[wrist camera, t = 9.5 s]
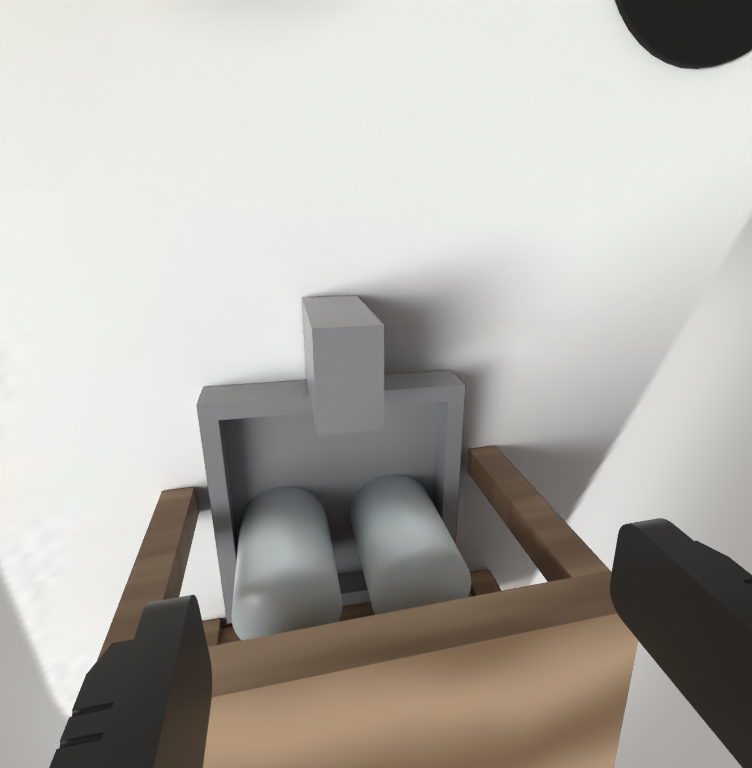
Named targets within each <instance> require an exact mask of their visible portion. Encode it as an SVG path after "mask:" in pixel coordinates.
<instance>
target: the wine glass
mask: <svg viewBox="0 0 752 768" xmlns="http://www.w3.org/2000/svg"><path fill="white" fill-rule="evenodd" d="M615 1H616V4H617V7H618V10H619V12H620V14H621V16H622V18H623V20H624V22H625V23H626V25H627V27H628V29H629V31H630V32H631V33H632V34H633V36H634V37H635V38H636V39H637V41H638V42H639V43H640V44H641V45H642V46H643V47H644V48H645V49H646V50H648V51H649V52H650V53H651V54H652V55H654V56H655V57H657V58H659V59H661V60H662V61H664V62H666V63H669V64H672V65H675V66H678V67H681V68H695V69H698V68H706V67H713V66H716V65H719V64H722V63H725V62H728V61H731V60H734V59H736V58H738V57H740V56H742V55H743V54H745V53H747V52H749V51H750V50H752V0H615Z"/></svg>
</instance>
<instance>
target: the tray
mask: <svg viewBox="0 0 752 768" xmlns="http://www.w3.org/2000/svg"><path fill="white" fill-rule="evenodd" d="M302 311H303V329H304V347H305V365H306V380H293V381H279V382H264V383H250V384H235V385H221V386H206V387H203V388H202V391H201V394H200V397H199V399H198V402H197V412H198V419H199V426H200V433H201V441H202V448H203V455H204V462H205V469H206V476H207V483H208V490H209V498H210V505H211V512H212V519H213V526H214V533H215V540H216V547H217V555H218V562H219V569H220V576H221V583H222V590H223V597H224V604H225V612H226V619H227V624H228V623H232V625H233V628H234V630H235V632H236V634H237V636H238V637H239V638H240V639H241V640H246V639H252V638H257V637H262V636H267V635H273V634H278V633H283V632H288V631H294V630H299V629H304V628H309V627H315V626H320V625H325V624H330V623H336V622H338V621H339V619H340V616H341V613H342V606H344V605H351V604H357V603H364V602H370V601H371V605H372V608H373V611H374V613H375V615H378V614H383V613H388V612H393V611H399V610H404V609H409V608H414V607H420V606H425V605H430V604H435V603H441V602H446V601H451V600H456V599H462V598H467V597H468V595H469V592H470V589H471V575H470V571H469V569H468V567H467V565H466V563H465V561H464V559H463V558H462V556H461V554H460V552H459V550H458V548H457V546H456V545H455V543H456V527H457V511H458V495H459V479H460V463H461V447H462V431H463V415H464V398H465V384H464V383H463V382H462V381H461V380H460V379H459V378H458V377H457V376H456V375H455V374H454V373H453V372H451V371H450V370H438V371H424V372H409V373H395V374H384V324H383V323H382V322H381V321H380V320H379V319H378V318H377V317H376V315H375V314H374V313H373V312H372V311H371V310H370V309H369V308H368V307H367V306H366V305H365V304H364V303H363V302H362V301H361V299H360V298H359V297H358V296H357V295H352V296H326V297H302Z"/></svg>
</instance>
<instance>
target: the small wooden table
mask: <svg viewBox="0 0 752 768" xmlns="http://www.w3.org/2000/svg"><path fill="white" fill-rule="evenodd" d="M468 473H469V475H470V476H471V477H472V479H473V480H474V481H475V483H476V484H477V486H478V487H479V488H480V490H481V491H482V492H483V494H484V495H485V497H486V498H487V499H488V501H489V502H490V503H491V505H492V506H493V507H494V509H495V510H496V512H497V513H498V514H499V516H500V517H501V518H502V520H503V521H504V523H505V524H506V525H507V527H508V528H509V529H510V531H511V532H512V534H513V535H514V536H515V538H516V539H517V540H518V542H519V543H520V544H521V546H522V547H523V549H524V550H525V551H526V553H527V554H528V555H529V557H530V558H531V560H532V561H533V562H534V564H535V565H536V566H537V568H538V569H539V570H540V572H541V573H542V574H543V576H544V577H545V579H546V580H547V581H548V582H546V583H541V584H535V585H530V586H525V587H520V588H514V589H509V590H504V591H501V589H500V587H499V586H498V584H497V582H496V581H495V579H494V577H493V575H492V574H491V572H490V570H484V571H478V572H473V573H470V575H471V589H470V592H469V595H468V597H467V598H462V599H456V600H451V601H446V602H441V603H435V604H430V605H425V606H420V607H414V608H409V609H404V610H399V611H393V612H388V613H383V614H378V615H375V613H374V611H373V608H372V605H371V601H370V602H364V603H357V604H351V605H344V606H342V613H341V616H340V619H339V621H338V622H336V623H330V624H325V625H320V626H315V627H309V628H304V629H299V630H294V631H288V632H283V633H278V634H273V635H267V636H262V637H257V638H252V639H246V640H241V639H240V638H239V637H238V636H237V634H236V632H235V630H234V628H233V626H230V627H225V628H222V625H221V620H220V619H214V620H209V621H203V622H202V623H203V627H204V632H205V636H206V641H207V645H208V650H209V654H210V659H211V667H212V699H211V708H210V716H209V724H208V731H207V739H206V747H205V755H204V763H203V768H614V764H615V759H616V753H617V748H618V743H619V738H620V732H621V727H622V722H623V717H624V712H625V707H626V701H627V696H628V691H629V686H630V680H631V676H632V670H633V665H634V660H635V654H636V650H637V644H638V639H637V638H636V637H635V636H634V635H633V633H632V632H631V631H630V630H629V628H628V627H627V626H626V625H625V624H624V622H623V621H622V620H621V618H620V617H619V615H618V614H617V612H616V610H615V608H614V605H613V603H612V599H611V595H610V580H611V574H612V572H611V571H610V570H609V569H608V568H607V567H606V566H605V564H604V563H603V562H602V561H601V560H600V559H599V558H598V557H597V556H596V555H595V554H594V553H593V551H592V550H591V549H590V548H589V547H588V546H587V545H586V544H585V543H584V542H583V541H582V539H581V538H580V537H579V536H578V535H577V534H576V533H575V532H574V531H573V530H572V529H571V528H570V527H569V525H568V524H567V523H566V522H565V521H564V520H563V519H562V518H561V517H560V516H559V515H558V513H557V512H556V511H555V510H554V509H553V508H552V507H551V506H550V505H549V504H548V503H547V502H546V500H545V499H544V498H543V497H542V496H541V495H540V494H539V493H538V492H537V491H536V490H535V489H534V487H533V486H532V485H531V484H530V483H529V482H528V481H527V480H526V479H525V478H524V477H523V476H522V474H521V473H520V472H519V471H518V470H517V469H516V468H515V467H514V466H513V465H512V464H511V463H510V461H509V460H508V459H507V458H506V457H505V456H504V455H503V454H502V453H501V452H500V451H499V450H498V448H497V447H496V446H488V447H481V448H474V449H469V470H468ZM198 514H199V510H198V505H197V500H196V495H195V490H194V487H189V488H182V489H175V490H167V491H162V492H161V495H160V498H159V500H158V503H157V506H156V508H155V511H154V513H153V516H152V519H151V521H150V524H149V526H148V529H147V532H146V534H145V537H144V540H143V542H142V545H141V547H140V550H139V553H138V555H137V558H136V560H135V563H134V566H133V568H132V571H131V574H130V576H129V579H128V581H127V584H126V587H125V589H124V592H123V594H122V597H121V600H120V602H119V605H118V608H117V610H116V613H115V615H114V618H113V621H112V623H111V626H110V628H109V631H108V634H107V636H106V639H105V642H104V644H103V647H102V649H101V652H100V655H99V657H98V660H99V658H100V657H101V656H102V655H103V653H104V652H105V651H106V650H107V648H108V647H109V646H110V645H111V643H115V642H121V641H126V640H132V639H134V637H135V634H136V631H137V627H138V624H139V621H140V618H141V615H142V612H143V609H144V607H145V605H146V604H147V603H149V602H154V601H160V600H166V599H172V598H178V597H179V595H180V590H181V586H182V582H183V578H184V573H185V569H186V565H187V561H188V557H189V552H190V548H191V544H192V540H193V535H194V531H195V527H196V523H197V518H198ZM98 660H97V661H98Z"/></svg>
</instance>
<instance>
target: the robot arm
mask: <svg viewBox="0 0 752 768" xmlns="http://www.w3.org/2000/svg"><path fill="white" fill-rule="evenodd" d="M610 595H611V599H612V603H613V605H614V608H615V610H616V612H617V614H618V615H619V617H620V618H621V620H622V621H623V622H624V624H625V625H626V626H627V627H628V628H629V630H630V631H631V632H632V633H633V635H634V636H635V637H636V638H637V639H638V641H639V642H640V643H641V644H642V646H643V647H644V648H645V649H646V650H647V652H648V653H649V654H650V655H651V656H652V658H653V659H654V660H655V661H656V663H657V664H658V665H659V666H660V667H661V669H662V670H663V671H664V672H665V673H666V675H667V676H668V677H669V678H670V679H671V681H672V682H673V683H674V684H675V686H676V687H677V688H678V689H679V691H680V692H681V693H682V694H683V696H684V697H685V698H686V699H687V700H688V701H689V703H690V704H691V705H692V706H693V708H694V709H695V710H696V711H697V713H698V714H699V715H700V716H701V717H702V719H703V720H704V721H705V722H706V724H707V725H708V726H709V727H710V728H711V730H712V731H713V732H714V733H715V734H716V736H717V737H718V738H719V739H720V740H721V742H722V743H723V744H724V745H725V747H726V748H727V749H728V750H729V752H730V753H731V754H732V755H733V756H734V758H735V759H736V760H737V761H738V762H739V764H740V765H741V766H742V767H743V768H752V575H751V574H750V573H748V572H747V571H746V570H744V569H743V568H742V567H741V566H739V565H738V564H737V563H735V562H734V561H733V560H732V559H731V558H729V557H728V556H726V555H724V554H722V553H720V552H718V551H716V550H714V549H712V548H710V547H708V546H706V545H704V544H702V543H700V542H698V541H693V540H692V539H691V538H690V537H688V536H687V535H686V534H685V533H683V532H682V531H681V530H680V529H679V528H677V527H676V526H675V525H674V524H672V523H671V522H670V521H668V520H666V519H662V518H659V519H653V520H647V521H641V522H635V523H629V524H625V525H623V526H622V527H621V528H620V530H619V534H618V538H617V545H616V550H615V556H614V562H613V568H612V574H611V580H610ZM211 699H212V667H211V659H210V654H209V650H208V645H207V641H206V636H205V632H204V627H203V623H202V618H201V614H200V609H199V605H198V601H197V598H196V596H195V595H190V596H184V597H178V598H172V599H166V600H160V601H154V602H149V603H147V604H146V605H145V607H144V609H143V612H142V615H141V618H140V621H139V624H138V627H137V631H136V634H135V637H134V639H132V640H126V641H121V642H115V643H111V645H110V646H109V647H108V648H107V650H106V651H105V652H104V653H103V655H102V656H101V657H100V658H99V660H98V661H97V662H96V663H95V665H94V666H93V667H92V668H91V669H90V671H89V672H88V673H87V674H86V677H85V679H84V682H83V684H82V687H81V689H80V692H79V694H78V697H77V699H76V702H75V704H74V707H73V709H72V712H73V713H72V717H69V719H68V722H67V725H66V727H65V730H64V732H63V735H62V737H61V740H60V748H59V749H57V750H56V752H55V755H54V758H53V760H52V762H51V765H50V767H49V768H203V763H204V755H205V747H206V739H207V731H208V724H209V716H210V708H211Z"/></svg>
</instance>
